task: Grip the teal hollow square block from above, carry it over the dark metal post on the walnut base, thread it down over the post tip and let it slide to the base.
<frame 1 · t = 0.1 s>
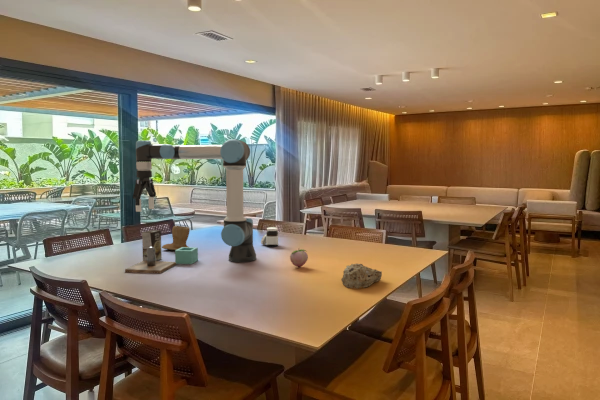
hand: (145, 210, 224), 28 cm above the table, tool pointing down, fingers open, 13 cm apart
rock: (361, 284, 187), on the table
brown piece: (177, 250, 259), on the table
teal hollow square block: (186, 261, 227), on the table
decorative fruit: (298, 267, 215), on the table
coffee box: (152, 260, 230), on the table
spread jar: (269, 246, 273), on the table
base plate: (151, 268, 213), on the table
post: (151, 268, 213), resting on base plate
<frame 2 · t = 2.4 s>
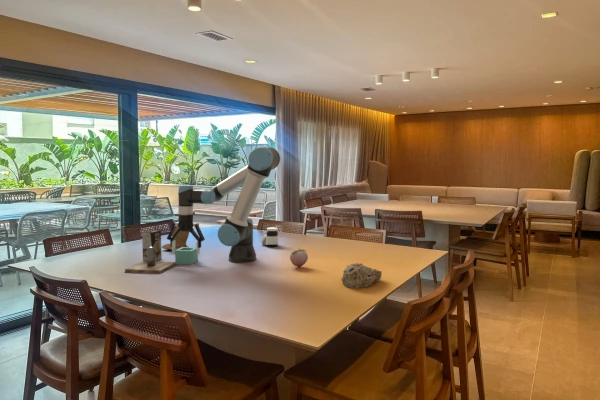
hand: (185, 253, 227), 5 cm above the table, tool pointing down, fingers open, 13 cm apart
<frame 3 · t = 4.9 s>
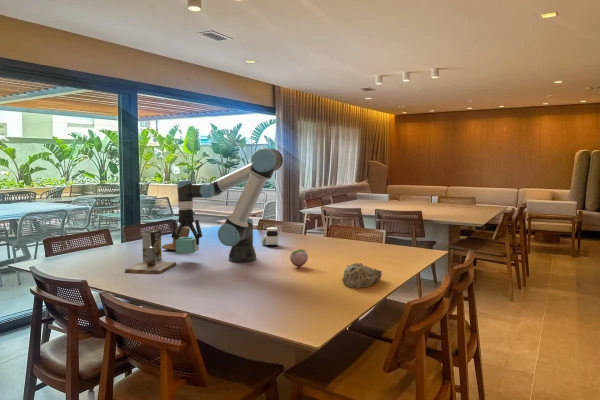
hand: (187, 250, 226), 6 cm above the table, tool pointing down, fingers closed on teal hollow square block, 9 cm apart
teal hollow square block: (187, 251, 226), point 6 cm above the table, touching gripper
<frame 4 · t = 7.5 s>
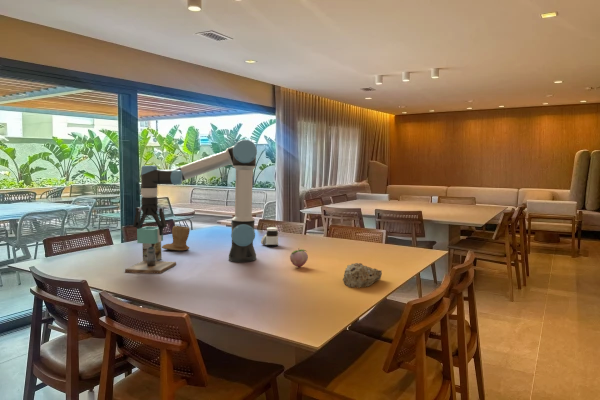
hand: (150, 241, 211), 14 cm above the table, tool pointing down, fingers closed on teal hollow square block, 9 cm apart
teal hollow square block: (150, 241, 211), point 14 cm above the table, touching gripper
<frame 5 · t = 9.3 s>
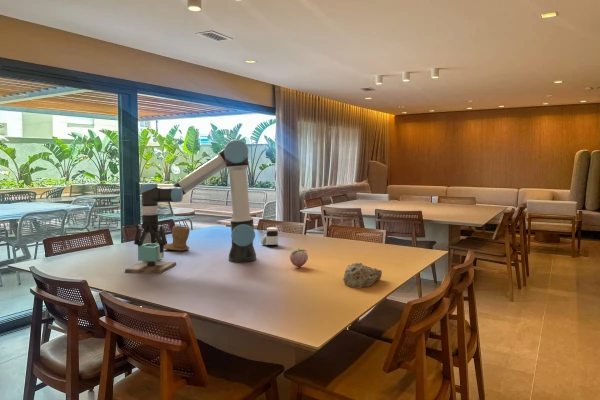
hand: (151, 258, 212), 5 cm above the table, tool pointing down, fingers closed on teal hollow square block, 9 cm apart
teal hollow square block: (151, 259, 212), point 5 cm above the table, touching gripper
when the fingers open (4 cm above the table, at t = 10.5 s): teal hollow square block drops 2 cm, resting on base plate.
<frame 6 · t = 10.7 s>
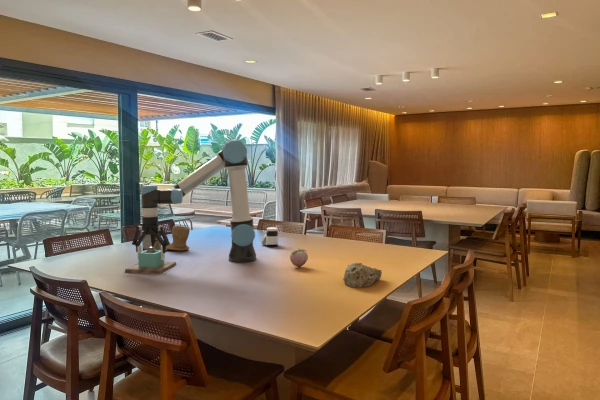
hand: (151, 259, 212), 5 cm above the table, tool pointing down, fingers open, 11 cm apart
teal hollow square block: (151, 265, 212), point 1 cm above the table, touching base plate
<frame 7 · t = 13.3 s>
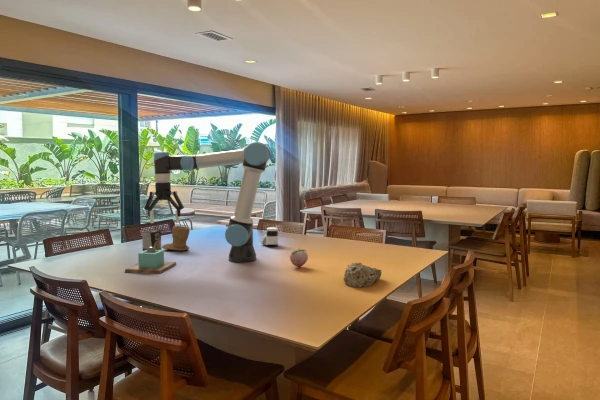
hand: (164, 223, 219), 22 cm above the table, tool pointing down, fingers open, 13 cm apart
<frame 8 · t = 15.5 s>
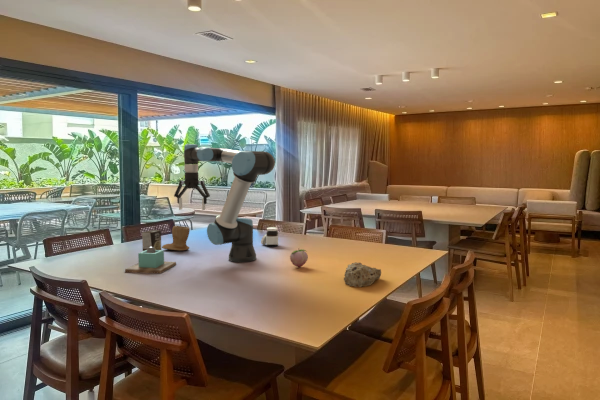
hand: (192, 209, 239), 27 cm above the table, tool pointing down, fingers open, 13 cm apart
at the end: teal hollow square block 0.1 cm from the post (horizontally); teal hollow square block point 1.5 cm above the table; the gripper is holding nothing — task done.
